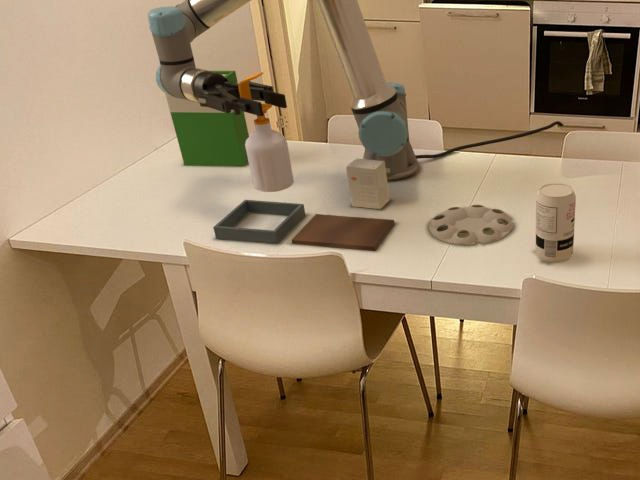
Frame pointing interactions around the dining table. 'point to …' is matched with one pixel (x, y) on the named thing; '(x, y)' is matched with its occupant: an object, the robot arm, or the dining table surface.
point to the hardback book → (209, 132)
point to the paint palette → (470, 225)
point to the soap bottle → (266, 150)
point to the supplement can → (555, 222)
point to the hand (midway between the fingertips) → (272, 105)
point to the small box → (368, 183)
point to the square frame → (257, 235)
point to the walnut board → (344, 232)
